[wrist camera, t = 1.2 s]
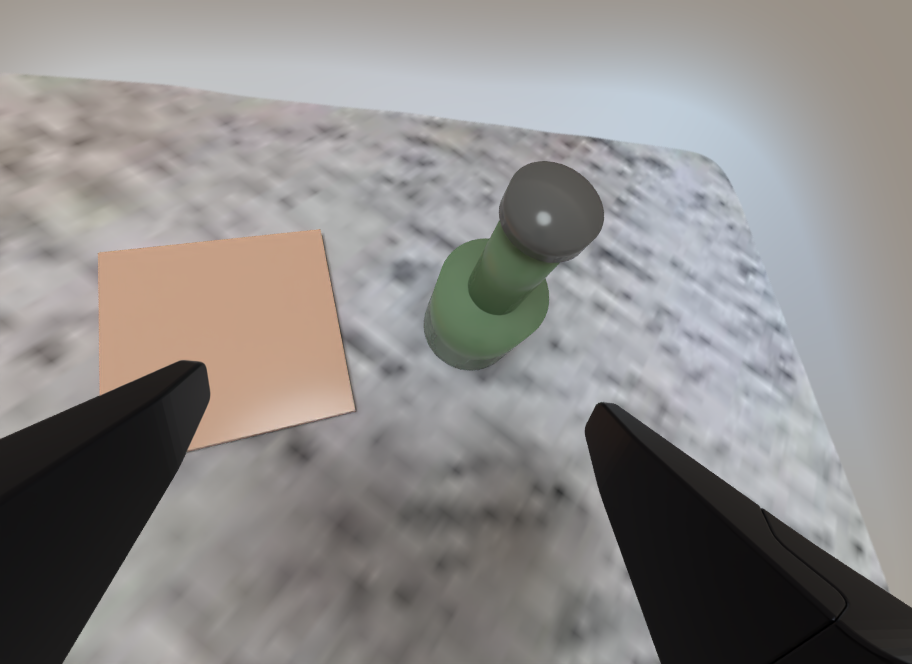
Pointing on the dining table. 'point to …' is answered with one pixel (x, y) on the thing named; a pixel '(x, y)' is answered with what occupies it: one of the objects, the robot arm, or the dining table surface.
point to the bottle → (511, 266)
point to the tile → (229, 328)
